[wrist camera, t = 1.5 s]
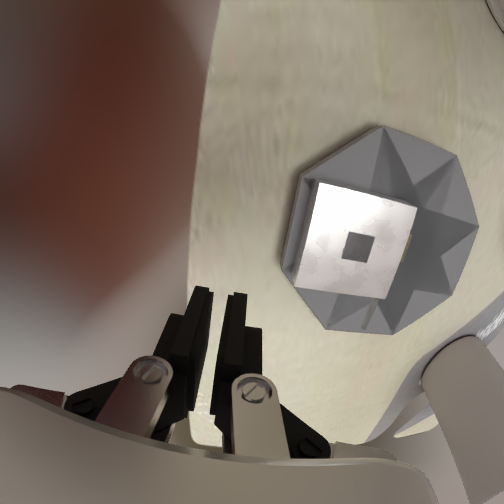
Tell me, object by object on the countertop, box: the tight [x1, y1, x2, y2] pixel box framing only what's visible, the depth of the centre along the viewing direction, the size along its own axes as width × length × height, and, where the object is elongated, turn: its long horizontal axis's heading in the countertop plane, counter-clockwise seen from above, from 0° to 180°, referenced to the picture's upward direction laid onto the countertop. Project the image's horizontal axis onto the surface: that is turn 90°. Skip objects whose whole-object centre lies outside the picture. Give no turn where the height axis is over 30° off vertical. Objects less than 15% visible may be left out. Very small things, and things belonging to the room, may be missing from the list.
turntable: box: [280, 126, 479, 335], centre depth 26 cm, size 21×21×2 cm
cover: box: [292, 178, 417, 299], centre depth 24 cm, size 9×9×3 cm
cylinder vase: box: [422, 336, 504, 504], centre depth 24 cm, size 12×12×25 cm
